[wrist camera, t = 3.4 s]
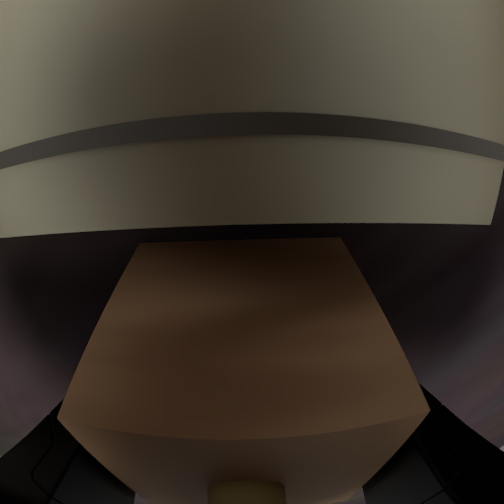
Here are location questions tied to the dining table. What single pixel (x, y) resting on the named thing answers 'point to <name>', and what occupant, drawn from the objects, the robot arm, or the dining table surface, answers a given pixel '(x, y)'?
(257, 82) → the plank
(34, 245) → the dining table surface
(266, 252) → the block
